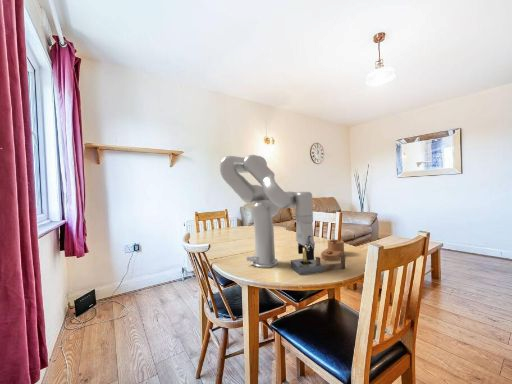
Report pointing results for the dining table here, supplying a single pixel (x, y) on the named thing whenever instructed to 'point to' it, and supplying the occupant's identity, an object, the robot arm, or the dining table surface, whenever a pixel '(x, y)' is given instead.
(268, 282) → the dining table surface
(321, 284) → the dining table surface
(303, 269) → the collar block
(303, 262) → the pin
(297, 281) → the dining table surface
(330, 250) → the bracket
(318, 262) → the brown drawer handle
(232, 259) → the dining table surface
